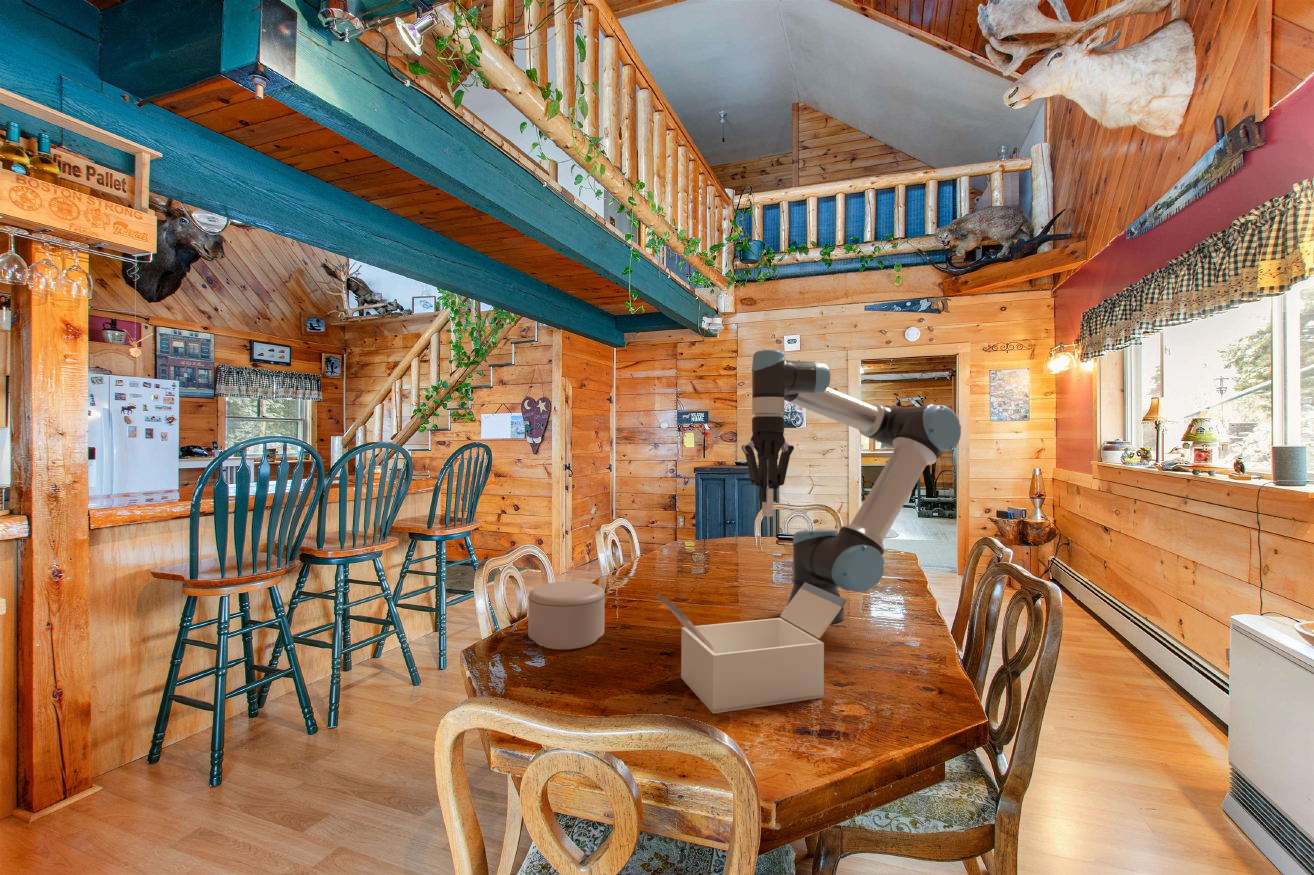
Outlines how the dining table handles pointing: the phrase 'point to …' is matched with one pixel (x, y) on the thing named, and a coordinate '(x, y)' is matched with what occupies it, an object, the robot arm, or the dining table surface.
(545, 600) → the container
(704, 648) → the carton
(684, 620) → the flap
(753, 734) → the dining table surface
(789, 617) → the flap
